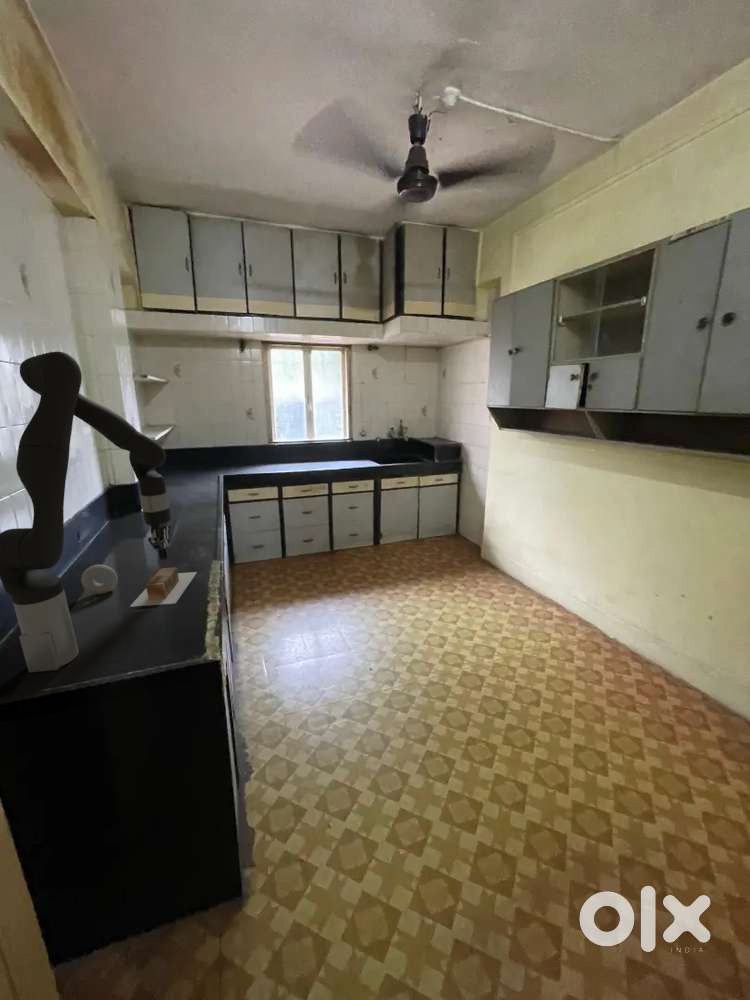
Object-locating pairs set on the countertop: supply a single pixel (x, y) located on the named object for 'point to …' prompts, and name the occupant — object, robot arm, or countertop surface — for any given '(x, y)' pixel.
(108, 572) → the donut
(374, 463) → the countertop surface
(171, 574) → the walnut block
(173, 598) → the grey mat
